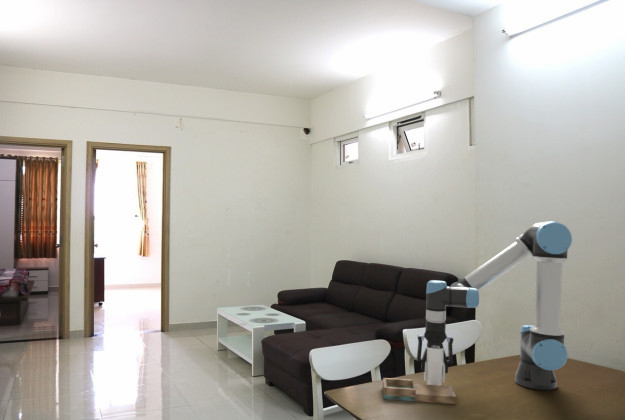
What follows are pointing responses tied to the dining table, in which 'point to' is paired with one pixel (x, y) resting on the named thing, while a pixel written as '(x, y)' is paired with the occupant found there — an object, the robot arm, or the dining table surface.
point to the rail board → (417, 391)
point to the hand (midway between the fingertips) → (434, 380)
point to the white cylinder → (434, 365)
